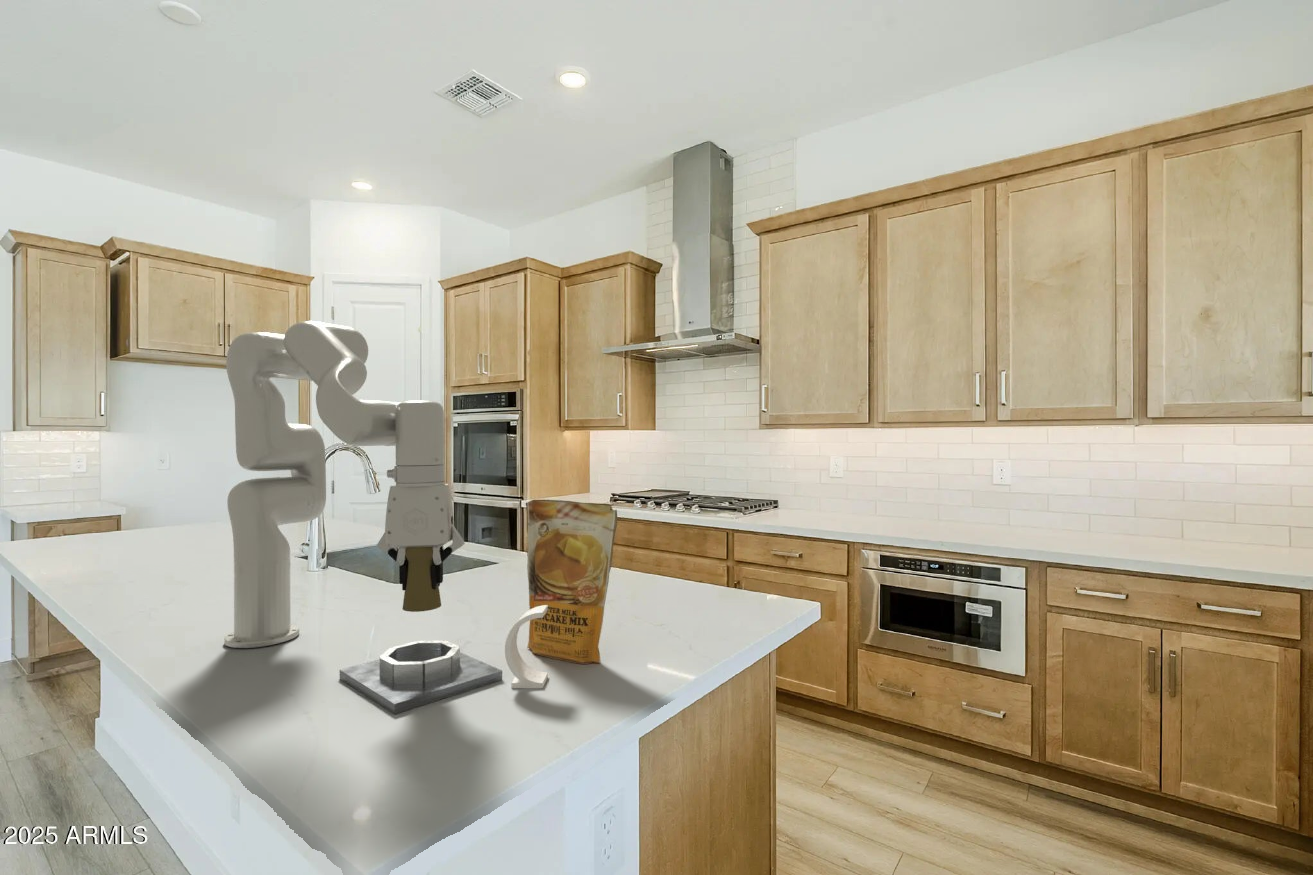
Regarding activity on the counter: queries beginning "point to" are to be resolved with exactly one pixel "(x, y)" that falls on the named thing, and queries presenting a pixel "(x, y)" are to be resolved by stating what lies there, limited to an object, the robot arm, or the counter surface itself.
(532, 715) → the counter surface
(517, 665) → the headphone stand
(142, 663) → the counter surface
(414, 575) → the cork
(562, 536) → the pancake mix bag
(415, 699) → the plate
